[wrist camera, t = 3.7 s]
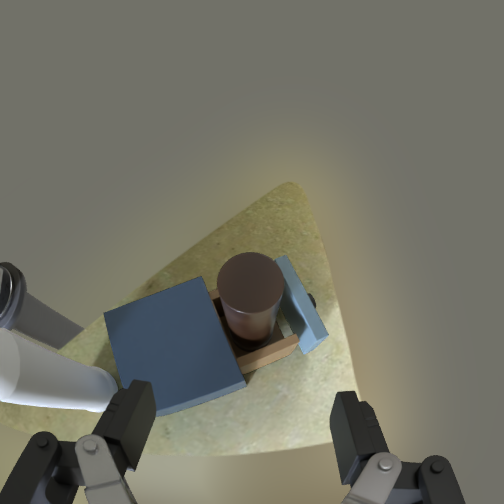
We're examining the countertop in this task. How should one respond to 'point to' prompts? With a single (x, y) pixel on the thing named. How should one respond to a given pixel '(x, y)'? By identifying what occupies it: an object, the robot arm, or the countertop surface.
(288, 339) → the drawer
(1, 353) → the bottle
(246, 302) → the pepper mill
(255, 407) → the countertop surface
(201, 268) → the countertop surface
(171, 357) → the cabinet
